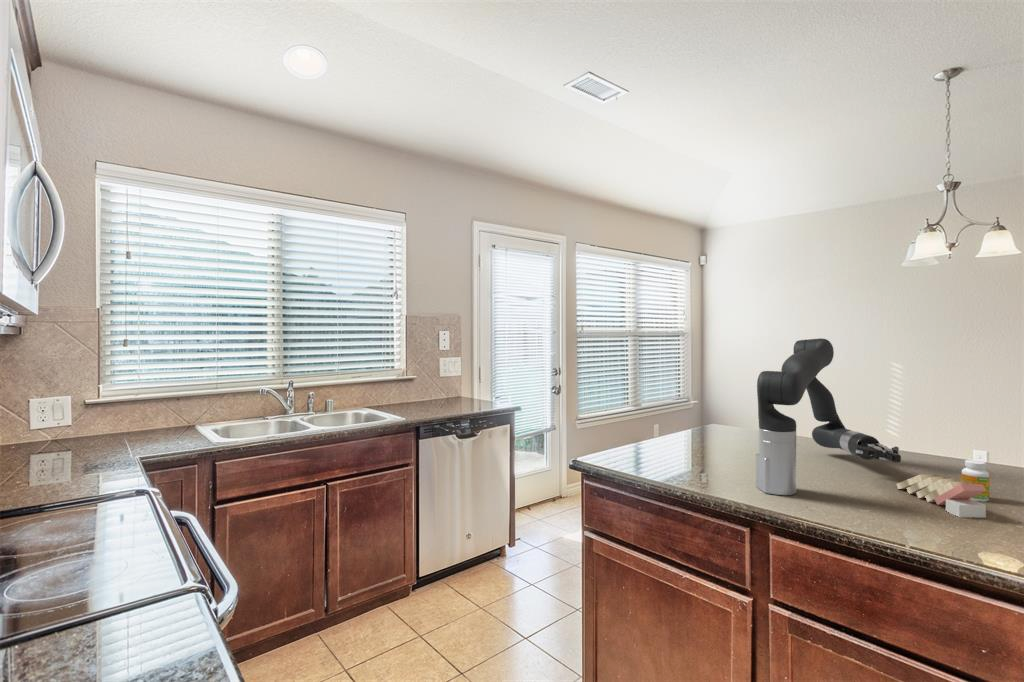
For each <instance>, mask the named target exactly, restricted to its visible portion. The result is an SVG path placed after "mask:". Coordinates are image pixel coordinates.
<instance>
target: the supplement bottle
mask: <svg viewBox="0 0 1024 682" xmlns="http://www.w3.org/2000/svg"><path fill="white" fill-rule="evenodd" d="M986 464H987V463H986V462H985V461H981V460H975V459H966V460H964V466H965V467H963V468H962V469H961V473H960V474H961V476H960V477H961V478H960V479H962V481H963V482H972V484H983V486H984V487H985V489H986V491H985V492H983V493H981V494H979V495H977V496H975V497H973V498H971V499H972V500H974V501H977V502H980V503H982V502H988V501H989V500H990V473H989V472H988V471H987V470H986V466H987V465H986Z"/></svg>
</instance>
